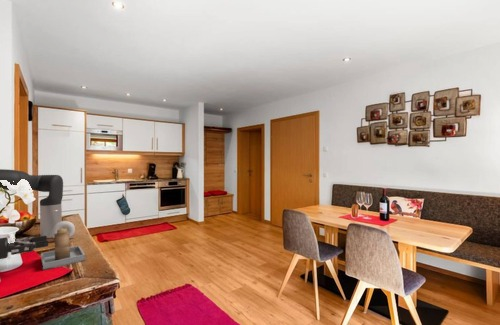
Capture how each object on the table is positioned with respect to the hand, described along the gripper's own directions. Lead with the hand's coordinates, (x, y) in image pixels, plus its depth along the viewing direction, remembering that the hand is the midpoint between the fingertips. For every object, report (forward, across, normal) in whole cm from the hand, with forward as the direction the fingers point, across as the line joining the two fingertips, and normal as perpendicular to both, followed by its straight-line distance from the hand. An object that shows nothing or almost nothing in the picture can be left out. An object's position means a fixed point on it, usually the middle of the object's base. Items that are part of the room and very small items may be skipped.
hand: (47, 240), depth 101 cm
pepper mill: (+5, 0, +8) cm, 10 cm away
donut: (+8, +31, +9) cm, 34 cm away
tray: (+5, 0, +9) cm, 10 cm away
